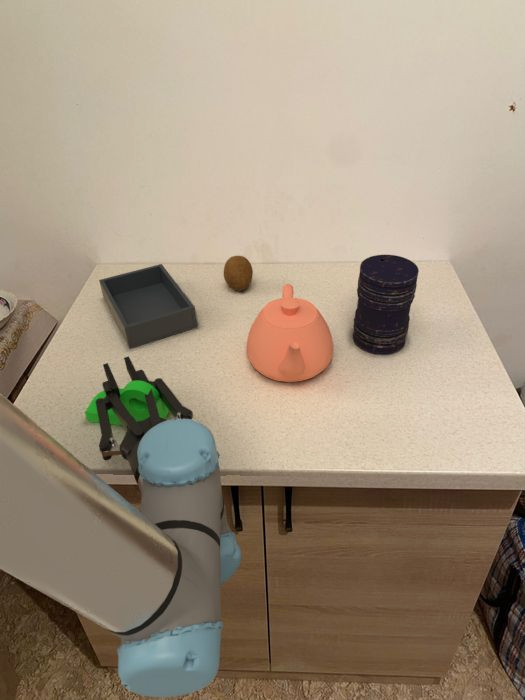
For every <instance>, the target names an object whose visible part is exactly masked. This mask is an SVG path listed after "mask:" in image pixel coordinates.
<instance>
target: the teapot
mask: <svg viewBox="0 0 525 700" xmlns="http://www.w3.org/2000/svg"><path fill="white" fill-rule="evenodd" d="M281 296H282V297H281V298H277V299H273V300H271V301H269V302H268V303H267V304H265V306H263V307H262V308H261V310H260V312H259V313H258V314H257V316H256V318H255V319H254V320H253V322H252V324H251V326H250V329H249V331H248V335H247V339H246V357H247V359H248V360H249V361H248V362H249V363H250V365H251V366H252V367H253V368H254V369H255V370H256V371H257V372H258V373H260V374H261V375H262V376H264V377H266V378H268V379H271V380H274V381H278V382H283V383H284V382H286V383H294V382H295V383H296V382H302V381H307V380H309V379H312V378H314V377H316V376H317V375H319V374H321V372H323V371H325V369H327V367H328V366H329V364H330V363H331V360H332V358H333V355H334V341H333V337H332V336H333V335H332V332H331V329H330V328H329V325H328V323H327V321H326V320H325V318H324V316H323V315H322V314H321V312H320V310H319V309H318V308H317V307H316V305H314V304H313V303H312V302H310V301H309V300H307V299H304V298H300V297H294V287H293V285H292V284H290V283H285V284H284V285H283V286H282V295H281Z"/></svg>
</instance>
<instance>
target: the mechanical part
mask: <svg viewBox="0 0 525 700" xmlns="http://www.w3.org/2000/svg"><path fill="white" fill-rule="evenodd" d="M118 388H119V387H118ZM151 388H152V392H153V396H154V399H155V403H156V406H157V409H158V413H159V417H161V418H164V419H166V420H167V417H168V415H169V412H170V411H169V409H168V408H167V407H166V405H165V404H164V403H163V401H162V400H161V399H160V395H159V393H158V391H157V390H156V389H155V388H154V387H153V386H152V385H150V384H149V383H147V382H144V381H139V380H136V381H132V380H131V381H129V382H128V383H126V385H125V386H124V388H121V387H120V388H119V391H120V395H121V396H120V400H121V402H122V403H123V405H124V406H125V407H126V409H127V410H128V412H129V413H130V415H131V416H133V417H134V419H135V420H136V422H137V421H143V420H145V419H147V418H148V417H150V415H149V411H148V407H147V403H146V399H145V395H148V394H149V392H150V390H151ZM105 397H106V394H105V392H104V390H102V391H100V392H98V393H97V394H95V396H94V397H93V398H92V399H91V402H90V403H89V405H88V406H87V407H86V409H85V411H84V414H85V417H86V420H87V422H88V423H89V422H90V423H98V424H100V423H99V418H98V412H97V407H96V400H97V399H99V398H105ZM108 415H109V420H110V425H115V426H117V425H118V426H123V425H122V424H121V422H120V421H119V419H118V418H117V416H116V415H115V413H114V412H113V410H112V409H110V410H108Z"/></svg>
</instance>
